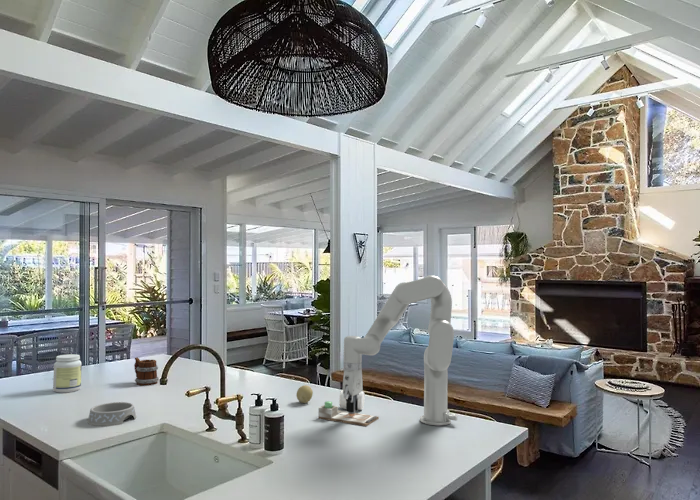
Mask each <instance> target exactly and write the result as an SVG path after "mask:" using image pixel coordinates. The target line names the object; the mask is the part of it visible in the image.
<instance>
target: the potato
mask: <svg viewBox="0 0 700 500" xmlns="http://www.w3.org/2000/svg"><path fill="white" fill-rule="evenodd" d="M313 394H314V391H313V389H312V387H311V386H310V385H307V384H306V385H305V384H304V385H301V386H299V387H298V389H297V391H296V395H295V396H296V399H297V400H298V402H299V403H301V404H307V403H309V402H310V401H311V399H312V397H313V396H314V395H313Z"/></svg>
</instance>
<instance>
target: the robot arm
mask: <svg viewBox="0 0 700 500" xmlns="http://www.w3.org/2000/svg"><path fill="white" fill-rule="evenodd" d="M428 299H430V314H429V315H430V316H429V322H428V328H427V332H428V337H429V339H428V346H427V347H425V349H424V353H423V369H424V371H423V372H424V374H423V375H424V378H423V379H424V380H423V381H424V382H423V385H424V386H423V388H424V389H423V415H421V416H420V417H419V421H420V422H421V423H423V424H424V425H429V426H436V427H437V426H446V425H450V424H451V423H452V421H458V416H457V414H454V413H453V414H452V413H450V410H449V409H448V384H449V383H448V379H449V377H448V376H449V375H448V368H449V367H450V366H451V362H452V357H453V347H454V340H455V339H454V338H455V332H454V327H453V325H452V324H451V322H452V319H451V318H452V309H453V300H452V294H451V292H450V290H449V288H448V287H447V285H446V284H445V283H444V282H443V280H442V279H441V278H440V277H439V276H436V275H431V274H429V275H426V276H424V277H423V278H419V279H416V280H411V281H407V282H405V281H403V282H400V283H398V284H397V285H396V286H395V288H393V291H392V292H391V294H390V295H389V297H388V299H387V300H386V302H385V304H384V305H383V307H382V308H381V310H380V311H379V313H378V315H377V317H376V318H375V320H374V321H373V323H372V325H371V326H370V328H369V329H368V331H367V332H366V334H365V336H364V337H361V336H358V335H347V336H345V337H344V339H343V376H342V377H343V378H342V390H343V394H344V398H345V399H346V409H345V410H346V412H354V402H353V396H354V395H355V411H359V410H358V395H359V393H361V392H362V391H363V390H364V389H363V387H364V386H363V371H362V369H363V367H362V358H363V357H362V356H363V355H364V356H365V355H366V356H375V355H377V354H378V353H379V352H380V350H381V344H382V343H383V341H384V340H385V338H386V336H387V334H388V333H389V332H390V330H392V328H393V327H395V326H396V325H397V324H398V322H399V321H400V319H401V318H402V317H403V314H404V313H405V311H406V310H407V309H408V307H409V305H410V304H413V303H417V302H422V301H426V300H428ZM348 393H350V394H348ZM349 396H351V398H350V397H349Z"/></svg>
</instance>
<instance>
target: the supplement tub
mask: <svg viewBox="0 0 700 500" xmlns="http://www.w3.org/2000/svg"><path fill="white" fill-rule="evenodd" d="M80 355H81V354H73V353H72V354H68V353H67V354H60V355H57V356H56V357H55V362H54V363H53V380H52V381H53V382H52V383H53V387H52V390H53V392H55V393H59V394H60V393H62V394H63V393H72V392H76V391H77V392H78V391H79V390H81V388H82V369H83V368H82V361H81V356H80Z"/></svg>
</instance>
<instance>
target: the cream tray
mask: <svg viewBox="0 0 700 500" xmlns="http://www.w3.org/2000/svg"><path fill="white" fill-rule="evenodd" d="M317 413H318V416H317V417H318V419H320V420H326V421H333V422H339V423H344V424H350V425H355V426H363V427H367V426H369V425H371V424H372V423H375V421H377V420H379V419H380V417H379V416H377V415H373V414H372V415H371V414H364V413H359V412H358V413H357V412H355V416H349V413H348V412H347V411H344V410H339V406H338V405H333V404H332V408H331V409H329V408H325V404H323V405H321V406H319V407H318V412H317Z"/></svg>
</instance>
